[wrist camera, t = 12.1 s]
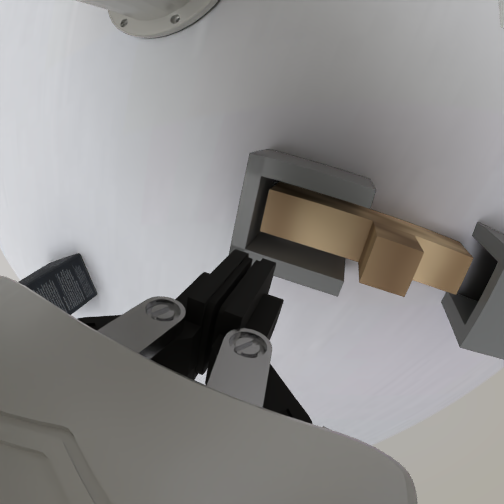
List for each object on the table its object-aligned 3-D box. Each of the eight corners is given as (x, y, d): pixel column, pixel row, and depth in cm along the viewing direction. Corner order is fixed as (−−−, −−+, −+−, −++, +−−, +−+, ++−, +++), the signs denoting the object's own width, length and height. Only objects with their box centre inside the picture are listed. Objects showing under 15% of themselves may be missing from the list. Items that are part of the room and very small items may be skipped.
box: (66, 299, 37) (12, 339, 27) (49, 262, 35) (-9, 297, 26) (99, 295, 34) (38, 342, 24) (80, 251, 32) (12, 291, 23)
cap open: (247, 238, 25) (227, 260, 21) (267, 148, 22) (249, 153, 18) (340, 268, 24) (337, 296, 20) (370, 179, 21) (375, 189, 17)
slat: (271, 217, 24) (246, 246, 19) (280, 181, 23) (256, 198, 17) (444, 274, 22) (467, 317, 16) (458, 241, 20) (488, 277, 15)
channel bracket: (441, 302, 22) (459, 347, 17) (477, 221, 19) (511, 250, 13) (482, 316, 21) (505, 359, 16) (519, 242, 18) (555, 273, 13)
